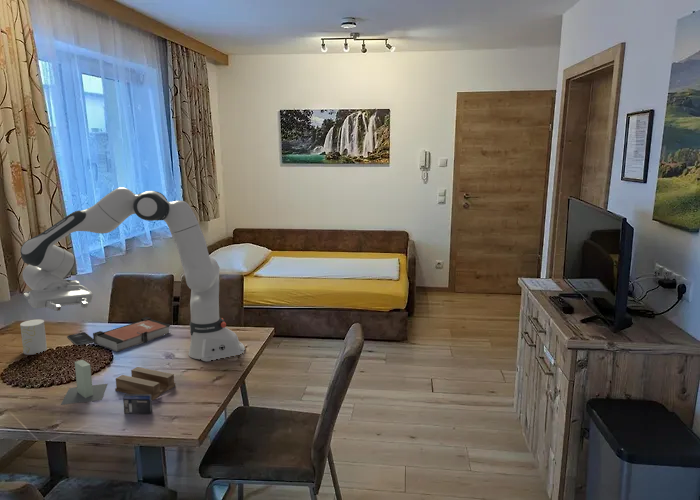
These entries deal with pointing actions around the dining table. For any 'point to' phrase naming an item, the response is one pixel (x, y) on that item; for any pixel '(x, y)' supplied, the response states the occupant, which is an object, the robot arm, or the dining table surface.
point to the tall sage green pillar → (83, 378)
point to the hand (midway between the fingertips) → (72, 307)
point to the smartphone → (80, 338)
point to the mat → (75, 397)
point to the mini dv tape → (137, 403)
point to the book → (131, 334)
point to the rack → (145, 382)
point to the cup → (33, 336)
